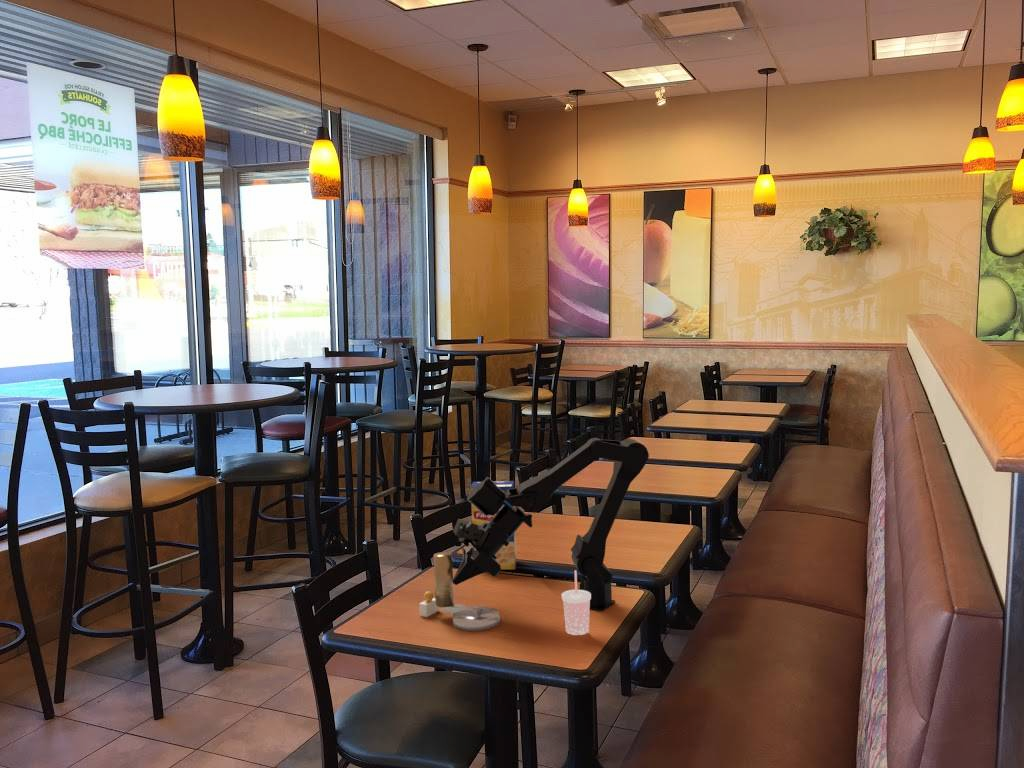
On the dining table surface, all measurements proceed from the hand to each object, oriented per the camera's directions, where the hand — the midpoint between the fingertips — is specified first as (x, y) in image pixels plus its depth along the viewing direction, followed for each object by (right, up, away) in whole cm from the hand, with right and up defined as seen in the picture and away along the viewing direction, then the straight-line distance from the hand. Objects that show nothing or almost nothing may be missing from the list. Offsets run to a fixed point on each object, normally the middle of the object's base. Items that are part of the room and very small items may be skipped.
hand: (453, 583), depth 186 cm
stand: (+3, -8, -3) cm, 9 cm away
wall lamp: (+3, -7, -4) cm, 9 cm away
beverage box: (+8, -5, +38) cm, 40 cm away
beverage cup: (+26, -9, -12) cm, 30 cm away
